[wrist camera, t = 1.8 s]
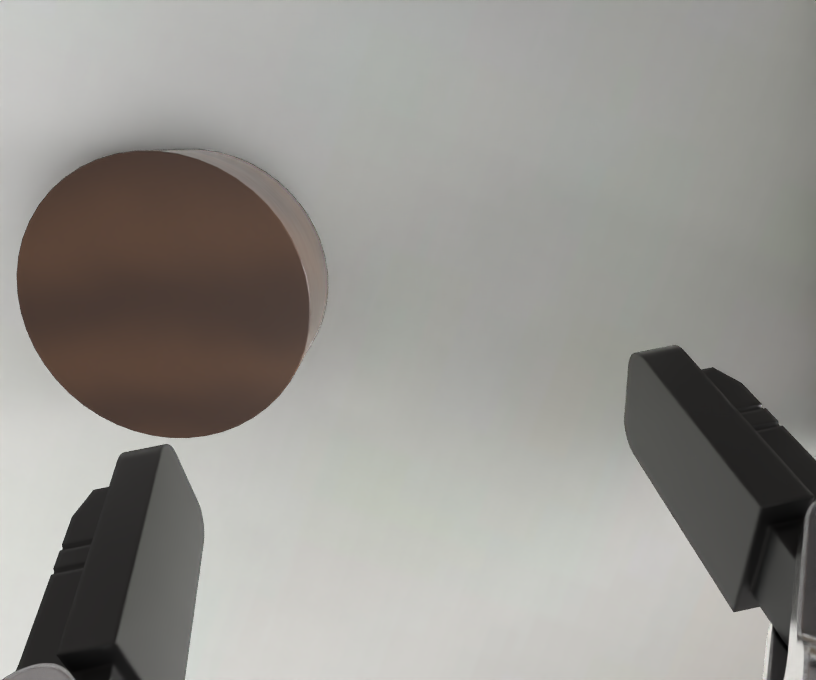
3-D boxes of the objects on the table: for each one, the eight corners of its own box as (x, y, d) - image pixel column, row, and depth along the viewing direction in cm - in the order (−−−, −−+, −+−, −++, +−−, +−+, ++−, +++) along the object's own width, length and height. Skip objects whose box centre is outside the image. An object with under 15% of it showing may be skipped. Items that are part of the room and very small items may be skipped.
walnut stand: (68, 140, 29) (-1, 139, 25) (332, 158, 29) (314, 161, 25) (89, 387, 33) (32, 428, 28) (324, 403, 33) (307, 447, 28)
